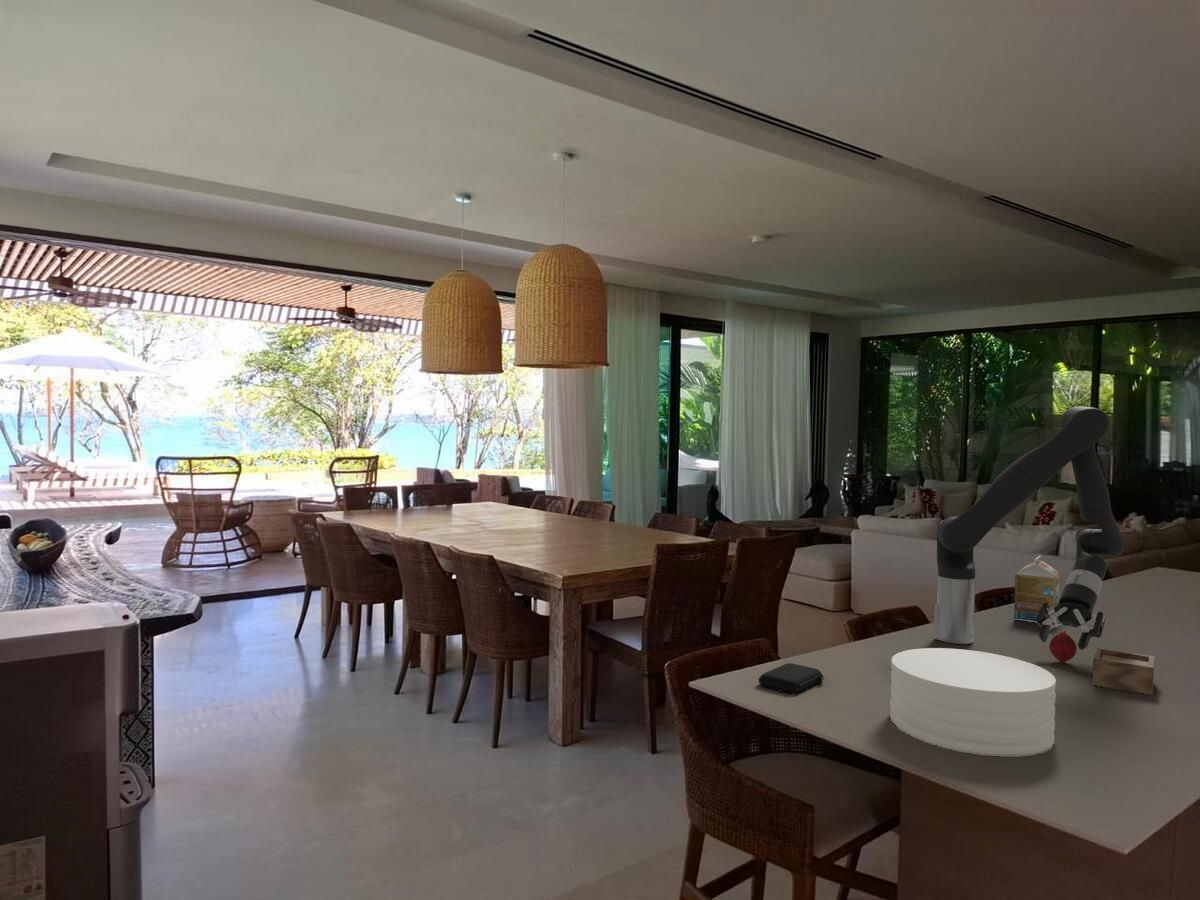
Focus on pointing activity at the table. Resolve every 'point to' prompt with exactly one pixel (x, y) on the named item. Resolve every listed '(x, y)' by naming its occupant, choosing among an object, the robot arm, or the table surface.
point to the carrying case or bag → (791, 678)
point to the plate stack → (973, 700)
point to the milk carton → (1035, 589)
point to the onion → (1063, 647)
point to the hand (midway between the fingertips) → (1061, 643)
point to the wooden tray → (1123, 671)
